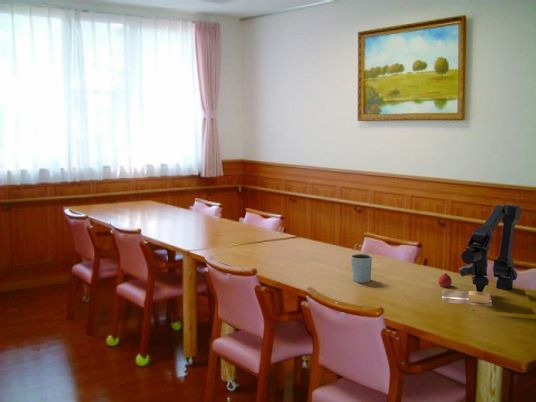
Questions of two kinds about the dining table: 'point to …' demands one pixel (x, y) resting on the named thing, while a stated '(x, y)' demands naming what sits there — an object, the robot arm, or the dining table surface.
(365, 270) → the grey blue cup
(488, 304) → the board
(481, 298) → the light orange rectangular block
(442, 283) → the onion
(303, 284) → the dining table surface
